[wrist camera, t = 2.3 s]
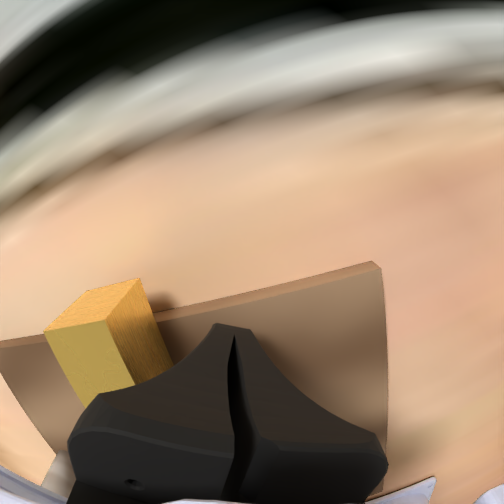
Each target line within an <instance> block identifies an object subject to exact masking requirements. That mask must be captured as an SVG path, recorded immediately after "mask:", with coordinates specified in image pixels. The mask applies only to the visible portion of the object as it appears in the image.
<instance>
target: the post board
mask: <svg viewBox="0 0 504 504" xmlns="http://www.w3.org/2000/svg"><path fill="white" fill-rule="evenodd" d="M153 316H154V318H155V321H156V324H157V326H158V329H159V331H160V334H161V336H162V339H163V341H164V343H165V346H166V348H167V351H168V353H169V355H170V358H171V360H172V362H173V365H176V364H177V363H178V362H180V361H181V360H182V359H184V358H185V357H186V356H187V355H188V354H189V353H190V352H191V351H193V350H194V349H195V348H196V347H197V346H198V345H199V343H200V342H201V341H202V340H203V339H204V338H205V336H206V335H207V334H208V332H209V331H210V329H211V328H212V325H213V324H215V323H221V324H226V325H231V326H236V327H241V328H246V329H251V331H252V332H253V334H254V336H255V337H256V339H257V340H258V342H259V344H260V345H261V347H262V348H263V350H264V351H265V353H266V354H267V355H268V357H269V358H270V360H271V361H272V362H273V363H274V365H275V366H276V367H277V368H278V369H279V370H280V372H281V373H282V374H283V375H284V376H285V377H286V378H287V379H288V380H289V381H290V382H291V383H292V384H293V385H294V386H295V387H296V388H298V389H299V390H300V391H301V392H302V393H303V394H305V395H306V396H307V397H308V398H310V399H311V400H313V401H314V402H315V403H317V404H318V405H320V406H321V407H322V408H324V409H326V410H327V411H329V412H331V413H332V414H334V415H336V416H338V417H340V418H341V419H343V420H345V421H347V422H349V423H351V424H354V425H356V426H358V427H361V428H363V429H366V430H368V431H370V432H373V433H375V434H376V436H377V438H378V440H379V442H380V444H381V446H382V448H383V451H384V453H385V455H386V441H387V415H388V362H387V335H386V318H385V304H384V292H383V281H382V272H381V268H380V267H379V266H378V265H377V264H375V263H374V262H373V261H369V262H366V263H362V264H358V265H354V266H351V267H347V268H343V269H339V270H335V271H332V272H328V273H324V274H320V275H316V276H312V277H308V278H304V279H300V280H296V281H292V282H288V283H284V284H280V285H276V286H272V287H268V288H264V289H259V290H255V291H251V292H247V293H242V294H238V295H234V296H230V297H225V298H221V299H216V300H212V301H207V302H203V303H198V304H194V305H189V306H185V307H180V308H176V309H171V310H166V311H161V312H157V313H153ZM0 373H1V374H2V376H3V378H4V379H5V381H6V383H7V385H8V386H9V388H10V390H11V391H12V393H13V394H14V396H15V398H16V399H17V401H18V402H19V404H20V405H21V407H22V408H23V410H24V411H25V413H26V414H27V416H28V417H29V419H30V420H31V421H32V423H33V424H34V426H35V427H36V428H37V430H38V431H39V433H40V434H41V435H42V437H43V438H44V439H45V441H46V442H47V443H48V444H49V446H50V447H51V448H52V449H53V451H54V452H55V453H56V454H57V455H56V457H55V459H54V461H53V463H52V465H51V466H50V468H49V470H48V472H47V474H46V476H45V478H44V480H43V482H42V484H41V487H43V488H45V489H47V490H50V491H52V492H54V493H56V494H59V495H61V496H64V497H66V498H69V495H70V493H71V490H72V488H73V486H74V483H75V481H76V477H75V474H74V471H73V468H72V464H71V461H70V457H69V453H68V448H67V440H68V438H69V436H70V434H71V432H72V430H73V428H74V426H75V424H76V422H77V421H78V419H79V417H80V416H81V414H82V413H83V411H84V410H85V407H84V406H83V404H82V402H81V401H80V399H79V397H78V396H77V394H76V392H75V391H74V389H73V387H72V386H71V384H70V382H69V380H68V379H67V377H66V375H65V373H64V372H63V370H62V368H61V366H60V364H59V362H58V360H57V358H56V357H55V355H54V353H53V351H52V349H51V347H50V345H49V343H48V341H47V339H46V337H45V334H41V335H35V336H29V337H23V338H16V339H10V340H4V341H0ZM383 481H384V477H383V479H382V481H381V482H380V483H379V484H378V486H377V487H376V488H375V489H374V490H373V491H372V493H371V494H370V495H369V496H371V495H374V494H377V493H380V492H382V490H383Z"/></svg>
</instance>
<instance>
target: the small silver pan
mask: <svg viewBox="0 0 504 504" xmlns="http://www.w3.org/2000/svg"><path fill="white" fill-rule="evenodd" d="M43 332H44V334H45V337H46V339H47V341H48V343H49V345H50V347H51V349H52V351H53V353H54V355H55V357H56V358H57V360H58V362H59V364H60V366H61V368H62V370H63V372H64V373H65V375H66V377H67V379H68V380H69V382H70V384H71V386H72V387H73V389H74V391H75V392H76V394H77V396H78V397H79V399H80V401H81V402H82V404H83V406H84V407H85V409H86V408H87V406H88V405H89V404H90V403H91V402H92V400H93V399H94V398H95V397H96V396H97V395H98V394H99V393H104V392H109V391H114V390H119V389H123V388H127V387H130V386H134V385H137V384H139V383H142V382H145V381H147V380H150V379H152V378H154V377H156V376H158V375H159V374H161V373H163V372H165V371H166V370H168V369H170V368H171V367H173V366H174V365H173V362H172V360H171V358H170V355H169V353H168V351H167V348H166V346H165V343H164V341H163V339H162V336H161V334H160V331H159V329H158V326H157V324H156V321H155V318H154V316H153V313H152V311H151V308H150V305H149V303H148V300H147V297H146V295H145V292H144V289H143V286H142V283H141V281H140V278H137V279H133V280H129V281H125V282H121V283H117V284H113V285H109V286H105V287H101V288H97V289H93V290H88V291H86V292H85V293H84V294H83V295H82V296H80V297H79V298H78V299H77V300H76V301H75V302H74V303H73V304H72V305H71V306H69V307H68V308H67V309H66V310H65V311H64V312H63V313H62V314H61V315H60V316H59V317H58V318H57V319H56V320H54V321H53V322H52V323H51V324H50V325H49V326H48V327H47V328H46V329H45V330H44V331H43Z"/></svg>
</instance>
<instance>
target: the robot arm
mask: <svg viewBox="0 0 504 504" xmlns="http://www.w3.org/2000/svg"><path fill="white" fill-rule="evenodd" d="M67 448H68V453H69V457H70V461H71V464H72V468H73V471H74V474H75V477H76V481H75V483H74V486H73V488H72V490H71V493H70V495H69V498H66V497H64V496H61V495H59V494H56V493H54V492H52V491H50V490H47V489H45V488H43V487H41V486H39V485H37V484H35V483H33V482H31V481H29V480H27V479H25V478H23V477H21V476H19V475H17V474H15V473H13V472H12V471H10V470H8V469H6V468H4V467H3V466H1V465H0V504H429V500H430V497H431V494H432V492H433V489H434V486H435V483H436V478H435V477H431V478H428V479H426V480H424V481H422V482H419V483H417V484H414V485H412V486H410V487H407V488H405V489H402V490H399V491H397V492H394V493H391V494H389V495H386V496H383V497H380V498H377V499H374V500H371V501H368V502H365V499H366V498H367V497H368V496H369V495H370V494H371V493H372V491H373V490H374V489H375V488H376V487H377V486H378V484H379V483H380V482H381V481H382V479H383V477H384V476H385V474H386V473H387V469H388V465H389V464H388V461H387V458H386V455H385V453H384V451H383V448H382V446H381V444H380V442H379V440H378V438H377V436H376V434H375V433H373V432H370V431H368V430H366V429H363V428H361V427H358V426H356V425H354V424H351V423H349V422H347V421H345V420H343V419H341V418H340V417H338V416H336V415H334V414H332V413H331V412H329V411H327V410H326V409H324V408H322V407H321V406H320V405H318V404H317V403H315V402H314V401H313V400H311V399H310V398H308V397H307V396H306V395H305V394H303V393H302V392H301V391H300V390H299V389H298V388H296V387H295V386H294V385H293V384H292V383H291V382H290V381H289V380H288V379H287V378H286V377H285V376H284V375H283V374H282V373H281V372H280V370H279V369H278V368H277V367H276V366H275V365H274V363H273V362H272V361H271V360H270V358H269V357H268V355H267V354H266V353H265V351H264V350H263V348H262V347H261V345H260V344H259V342H258V340H257V339H256V337H255V336H254V334H253V332H252V331H251V329H246V328H241V327H236V326H231V325H226V324H221V323H215V324H213V325H212V328H211V329H210V331H209V332H208V334H207V335H206V336H205V338H204V339H203V340H202V341H201V342H200V343H199V345H198V346H197V347H196V348H195V349H194V350H193V351H191V352H190V353H189V354H188V355H187V356H186V357H185V358H184V359H182V360H181V361H180V362H178V363H177V364H176V365H174V366H173V367H171V368H170V369H168V370H166V371H165V372H163V373H161V374H159V375H158V376H156V377H154V378H152V379H150V380H147V381H145V382H142V383H139V384H137V385H134V386H130V387H127V388H123V389H119V390H114V391H109V392H104V393H99V394H98V395H97V396H96V397H95V398H94V399H93V400H92V402H91V403H90V404H89V405H88V406H87V408H86V409H85V410H84V411H83V413H82V414H81V416H80V417H79V419H78V421H77V422H76V424H75V426H74V428H73V430H72V432H71V434H70V436H69V438H68V440H67ZM473 504H504V484H501V485H499V486H497V487H494V488H492V489H490V490H488V491H486V492H485V493H483V494H482V495H481V496H480V497H479V498H478V499H477V500H476V501H475V502H474V503H473Z"/></svg>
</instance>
